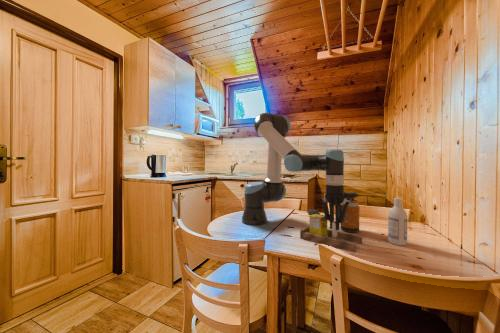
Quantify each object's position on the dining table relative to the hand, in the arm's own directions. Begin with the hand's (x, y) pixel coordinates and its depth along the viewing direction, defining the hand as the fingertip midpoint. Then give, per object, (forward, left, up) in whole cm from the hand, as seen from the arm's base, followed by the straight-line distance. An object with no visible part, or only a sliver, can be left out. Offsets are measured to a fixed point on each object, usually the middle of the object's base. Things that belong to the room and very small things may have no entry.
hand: (334, 236), depth 97 cm
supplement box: (-7, -1, -3) cm, 8 cm away
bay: (-3, +2, -2) cm, 4 cm away
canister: (0, +20, -3) cm, 20 cm away
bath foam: (+22, +16, -3) cm, 27 cm away
